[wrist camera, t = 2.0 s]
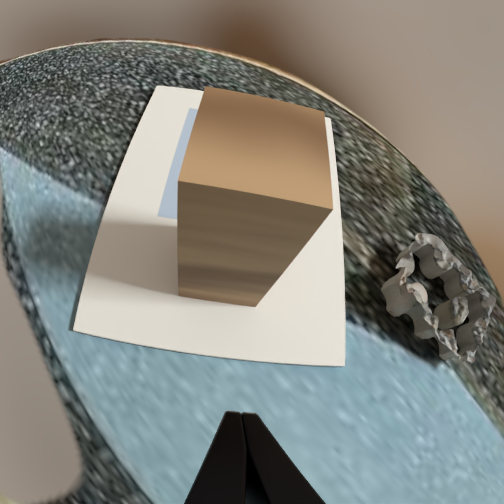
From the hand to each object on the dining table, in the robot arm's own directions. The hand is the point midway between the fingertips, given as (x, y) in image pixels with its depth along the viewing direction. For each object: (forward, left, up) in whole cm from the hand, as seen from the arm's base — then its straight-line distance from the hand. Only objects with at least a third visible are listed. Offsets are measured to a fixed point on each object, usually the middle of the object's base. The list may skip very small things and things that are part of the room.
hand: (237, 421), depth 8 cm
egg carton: (+8, -18, -12) cm, 23 cm away
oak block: (+9, 0, -11) cm, 14 cm away
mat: (+15, 0, -12) cm, 19 cm away
